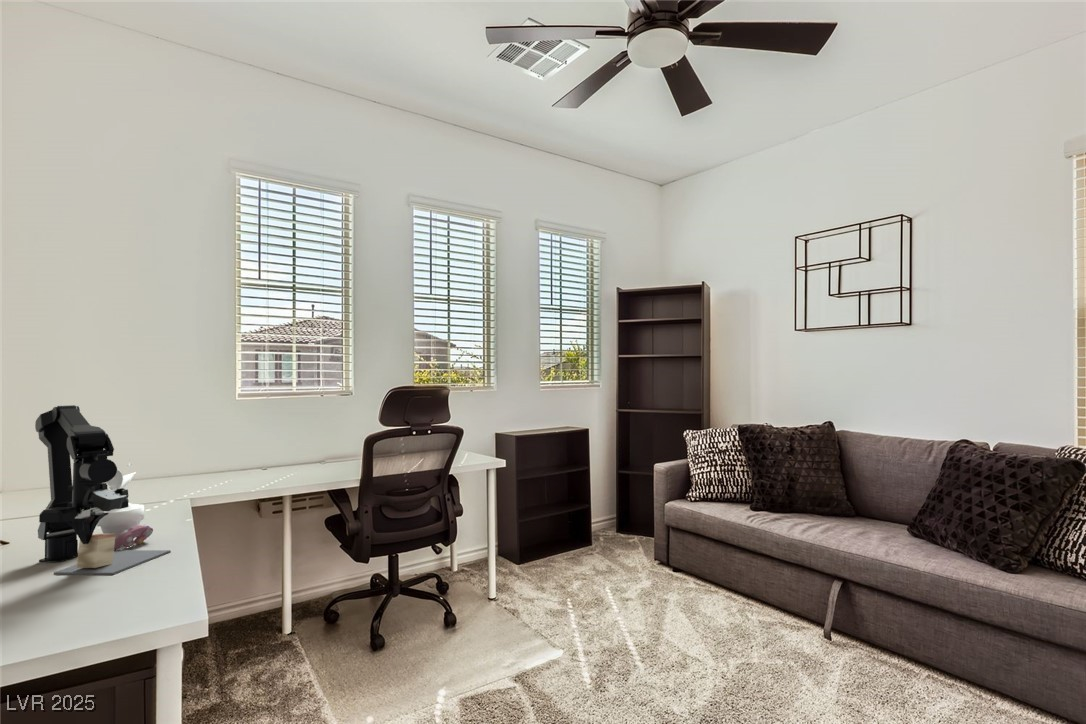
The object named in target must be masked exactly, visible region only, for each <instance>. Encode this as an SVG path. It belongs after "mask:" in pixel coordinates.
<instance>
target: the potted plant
mask: <svg viewBox="0 0 1086 724" xmlns="http://www.w3.org/2000/svg"><path fill="white" fill-rule="evenodd" d="M131 465H132V464H131V462H130V459H129V460H128V464H127V467H128V471H129V472H130V469H131ZM135 474H137V471H133V472H132V473H128V474H125V475H123V472H122V471H121V470H120V469H118V468H117V473H116V475H115V476H114V477H113V478H112V479H111V480H110V481H108V482H106V483H107V486H109V488H108V489H110V491H113V490H115V491H116V490H117V489H119V488H125V487H126V486H128V484H129V483H131V481H132V479H133V480H134V478H135ZM104 513H108V515H105V516H104V517H103V518H102V519H100V520H99V522H98V524H97V525H96V527H99V528H100V529H101V532H102V534H116V536H115V539H116V538H117V537H118V536H119V535H120V534H121V533H122V532H123V531H124V530H128V529H130V528H131V527H134V526H139V525H141V524H140V523H141V522H142V521H143V520H145V505H144V504H138V503H137V504H136V503H135V504H133V503H130V502H128V507H126V508H122V509H113V510H110V511H104Z"/></svg>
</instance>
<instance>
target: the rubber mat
mask: <svg viewBox="0 0 1086 724" xmlns="http://www.w3.org/2000/svg"><path fill="white" fill-rule="evenodd" d="M169 553H171V549H170V550H169V549H167V550H165V549H163V550H161V549H160V550H156V549H155V550H154V549H153V550H151V549H150V550H148V549H147V550H145V549H143V550H142V549H141V550H140V549H139V550H138V549H137V550H136V549H135V550H134V549H133V550H131V549H128V550H126V549H122V550H121V549H116V550H114V554H113V563H112V564H110V565H105V566H101V567H97V568H76V567H77V563H75V564H74V565H71V566H68V567H66V568H62V569H59V570H57V571H53V575H73V576H75V575H78V576H79V575H80V576H81V575H82V576H83V575H86V576H89V575H90V576H92V575H93V576H101V575H102V576H103V575H104V576H105V575H106V576H114V575H117V574H118V573H121V571H122V572H124V571H127V570H129V569H131V568H134V567H137V566H139V565H142V564H144V563H147V562H149V561H152V560H154V559H156V558H159V557H162V556H164V555H167V554H169ZM126 569H127V570H126ZM116 573H117V574H116Z"/></svg>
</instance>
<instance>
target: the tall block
mask: <svg viewBox="0 0 1086 724" xmlns="http://www.w3.org/2000/svg"><path fill="white" fill-rule="evenodd" d="M115 536H116V534H103V533H94V534H92V537H91V539H90V541H89V543H88V544H83V543H82V542H81V540H80V539H79V543H78V556H77V559H76V561H77V562H76V564H77V567H76V568H97V567H101V566H105V565H110V564H112V563H113V554H114V551H115V550H114V545H115Z"/></svg>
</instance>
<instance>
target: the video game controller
mask: <svg viewBox="0 0 1086 724" xmlns="http://www.w3.org/2000/svg"><path fill="white" fill-rule="evenodd" d="M153 532H154V529H153V527H151V526H149V525H146V524H143V525H141V524H139V526H134V527H131V528H130V529H128V530H124V531H123V532H122V533H121V534H120V535H119V536H118V537H117V538H116V539H115V545H114V549H116V550H119V549H120V548H121V547H122V546H124V548H126V549H128V548H127V547H130V546H131V547H132V546H133V545H137V544H139V545H141V544H142V543H144V541H145V540H146V539H148V538H150V536H151V535H152V534H153ZM140 543H141V544H140ZM131 547H130V548H131Z"/></svg>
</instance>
